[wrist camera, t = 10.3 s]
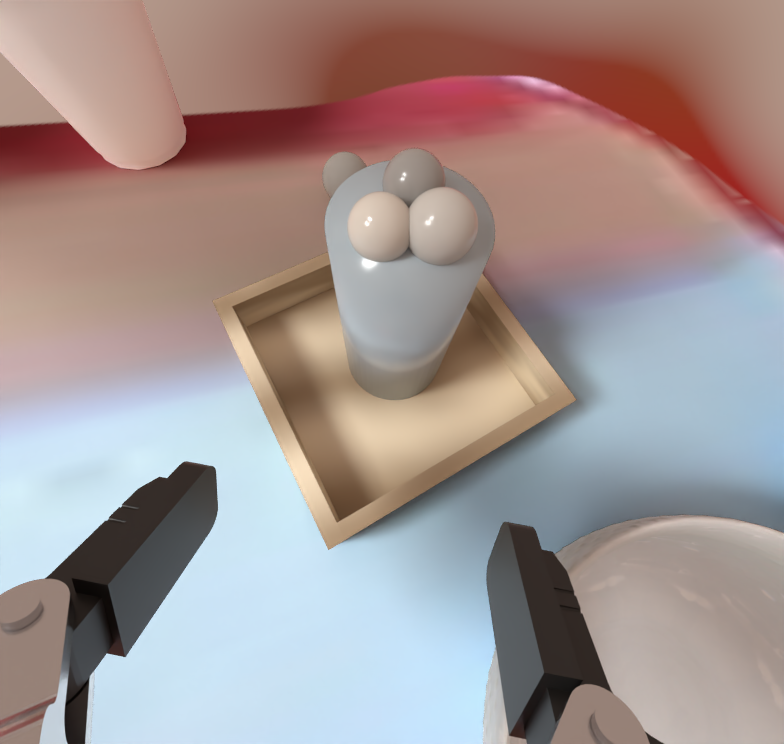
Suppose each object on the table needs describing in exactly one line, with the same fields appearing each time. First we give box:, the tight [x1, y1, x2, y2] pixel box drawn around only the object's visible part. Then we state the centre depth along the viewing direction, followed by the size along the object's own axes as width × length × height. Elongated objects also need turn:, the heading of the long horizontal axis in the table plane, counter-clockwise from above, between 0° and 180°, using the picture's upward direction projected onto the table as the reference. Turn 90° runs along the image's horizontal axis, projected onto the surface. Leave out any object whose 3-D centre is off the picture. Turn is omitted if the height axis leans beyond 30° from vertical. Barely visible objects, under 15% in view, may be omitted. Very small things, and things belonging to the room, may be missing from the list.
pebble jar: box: [324, 148, 495, 400], centre depth 16 cm, size 5×5×13 cm
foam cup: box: [0, 0, 186, 170], centre depth 22 cm, size 10×9×13 cm
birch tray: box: [213, 252, 576, 550], centre depth 21 cm, size 14×14×3 cm
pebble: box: [322, 152, 367, 198], centre depth 26 cm, size 3×3×3 cm
